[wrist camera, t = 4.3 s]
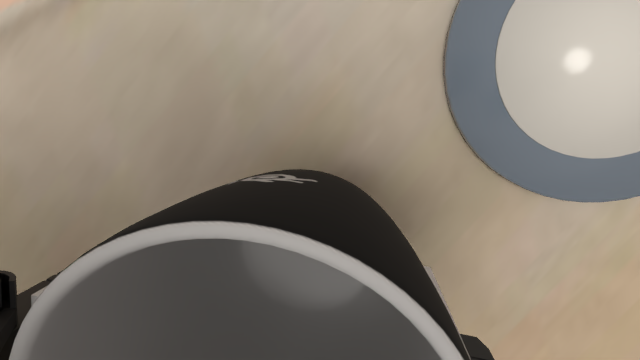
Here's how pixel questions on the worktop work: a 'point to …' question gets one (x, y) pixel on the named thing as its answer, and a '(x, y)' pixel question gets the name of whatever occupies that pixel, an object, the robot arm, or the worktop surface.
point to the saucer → (550, 93)
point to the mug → (248, 283)
